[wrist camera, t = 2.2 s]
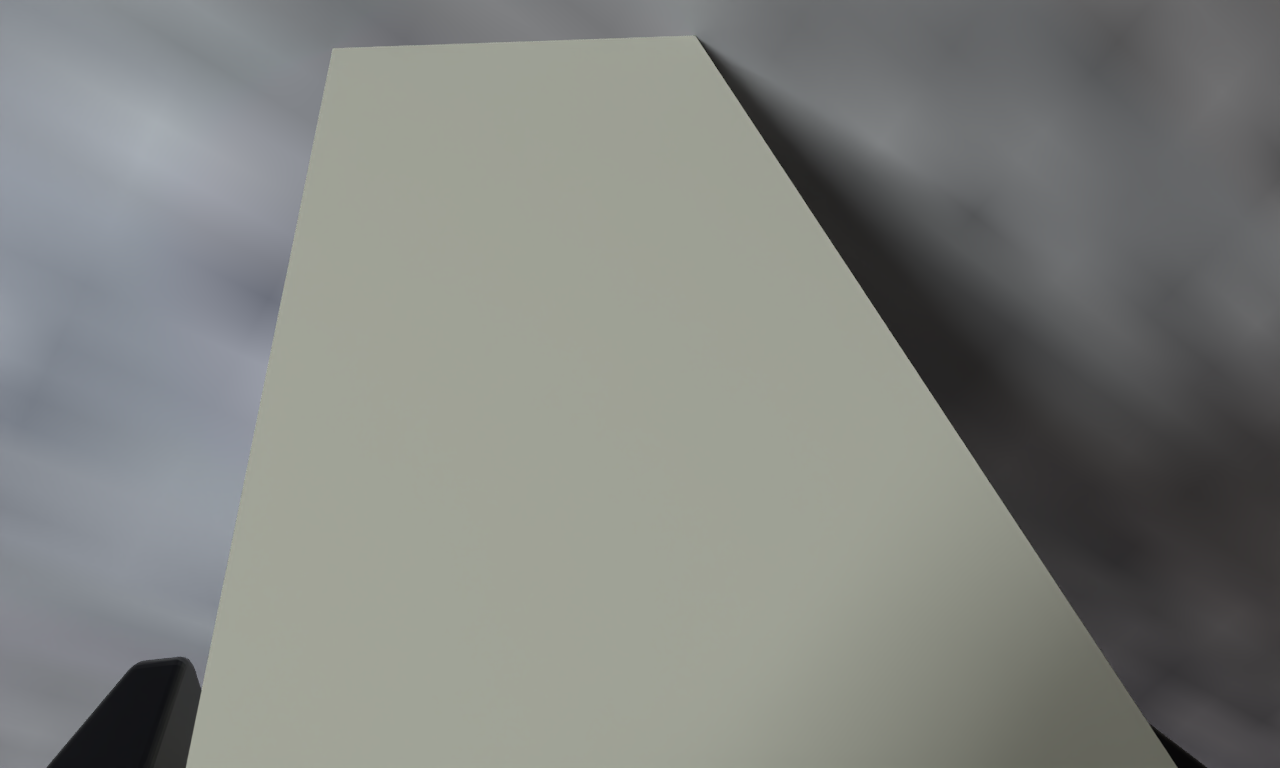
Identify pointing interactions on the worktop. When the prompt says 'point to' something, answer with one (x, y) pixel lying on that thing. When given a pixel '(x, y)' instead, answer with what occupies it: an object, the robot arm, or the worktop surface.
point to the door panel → (612, 460)
